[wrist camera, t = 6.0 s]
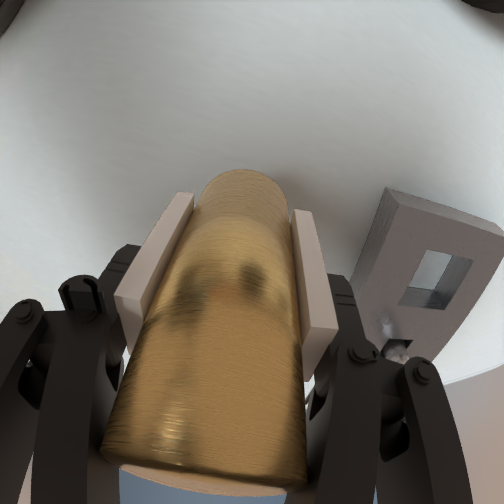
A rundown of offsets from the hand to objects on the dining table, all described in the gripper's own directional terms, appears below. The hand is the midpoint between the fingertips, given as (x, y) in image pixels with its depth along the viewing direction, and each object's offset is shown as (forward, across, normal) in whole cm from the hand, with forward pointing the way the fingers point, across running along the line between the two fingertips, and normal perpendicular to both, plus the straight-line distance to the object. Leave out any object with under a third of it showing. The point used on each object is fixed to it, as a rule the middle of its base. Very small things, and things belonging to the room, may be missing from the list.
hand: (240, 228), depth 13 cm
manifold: (+9, +17, -10) cm, 22 cm away
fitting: (+2, 0, 0) cm, 2 cm away
